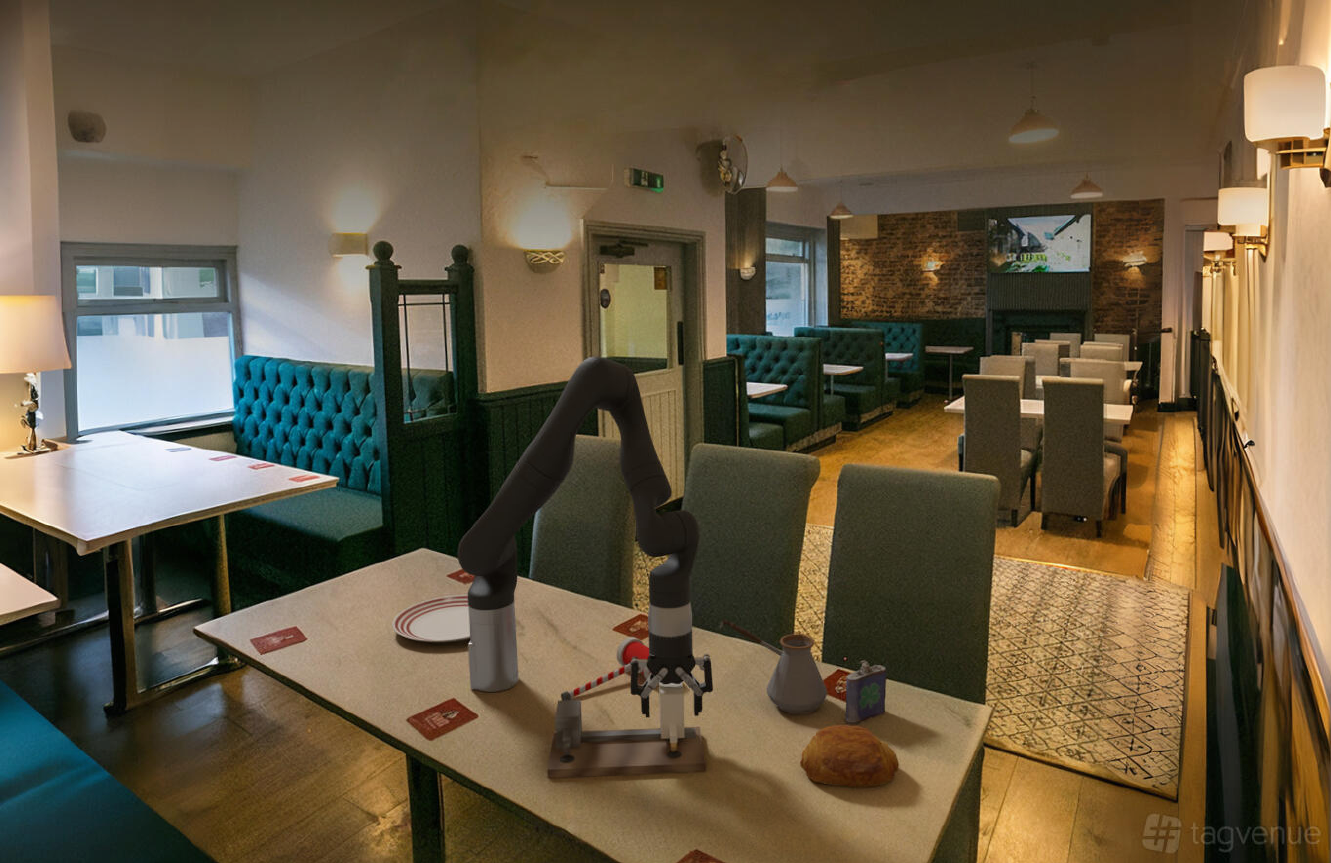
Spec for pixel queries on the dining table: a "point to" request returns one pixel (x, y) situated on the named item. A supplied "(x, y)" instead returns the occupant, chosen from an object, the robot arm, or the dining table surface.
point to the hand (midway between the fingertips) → (672, 714)
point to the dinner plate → (435, 620)
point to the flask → (865, 693)
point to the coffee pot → (792, 673)
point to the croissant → (848, 757)
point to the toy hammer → (624, 655)
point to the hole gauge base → (618, 749)
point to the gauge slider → (671, 712)
